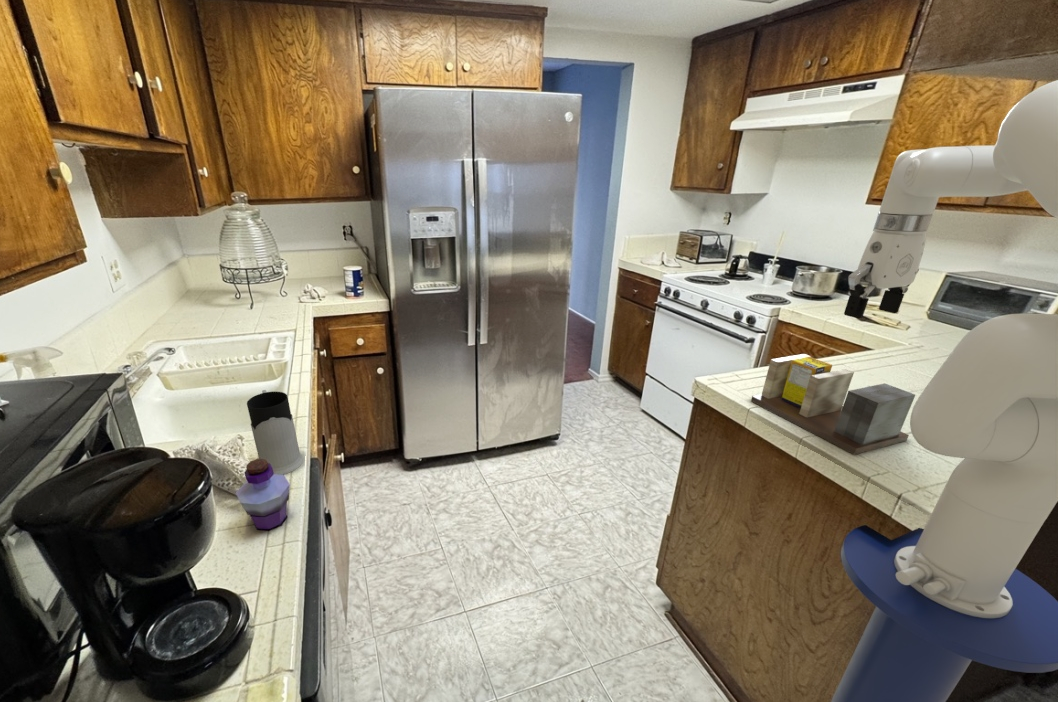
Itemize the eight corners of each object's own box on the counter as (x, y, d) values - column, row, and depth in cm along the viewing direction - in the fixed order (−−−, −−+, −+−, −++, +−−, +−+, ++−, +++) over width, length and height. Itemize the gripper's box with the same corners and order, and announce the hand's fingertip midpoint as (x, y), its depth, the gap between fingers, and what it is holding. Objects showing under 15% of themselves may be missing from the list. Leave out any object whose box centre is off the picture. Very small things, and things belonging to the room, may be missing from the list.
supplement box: (820, 405, 114) (833, 364, 110) (803, 410, 112) (816, 368, 108) (797, 395, 119) (808, 355, 115) (780, 399, 117) (791, 359, 113)
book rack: (853, 454, 97) (872, 406, 93) (750, 401, 120) (761, 359, 115) (906, 440, 102) (926, 393, 97) (797, 391, 125) (809, 351, 120)
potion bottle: (298, 500, 87) (286, 445, 82) (294, 532, 79) (281, 473, 74) (248, 508, 85) (233, 453, 80) (239, 542, 77) (222, 483, 72)
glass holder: (261, 480, 93) (245, 414, 86) (254, 446, 104) (239, 386, 98) (306, 467, 96) (294, 403, 90) (295, 436, 108) (283, 377, 102)
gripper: (890, 228, 80) (858, 324, 87) (957, 223, 85) (921, 314, 92) (846, 224, 86) (820, 313, 93) (910, 219, 91) (880, 305, 98)
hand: (870, 314), depth 93 cm, fingers open, 9 cm apart
